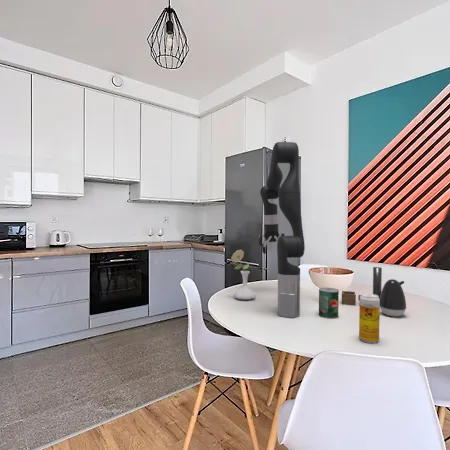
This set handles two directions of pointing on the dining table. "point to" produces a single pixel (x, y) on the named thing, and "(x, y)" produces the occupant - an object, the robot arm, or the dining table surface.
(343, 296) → the socket
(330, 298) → the canned tomato
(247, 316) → the dining table surface
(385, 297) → the pump dispenser
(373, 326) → the beer can
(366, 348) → the dining table surface
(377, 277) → the copper and grey mallet
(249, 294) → the flower in vase
